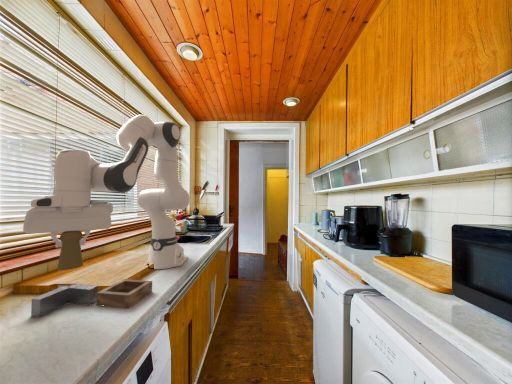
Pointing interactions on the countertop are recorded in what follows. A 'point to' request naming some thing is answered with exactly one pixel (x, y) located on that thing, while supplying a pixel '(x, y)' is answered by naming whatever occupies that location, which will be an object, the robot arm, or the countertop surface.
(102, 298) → the sleeve
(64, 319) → the countertop surface
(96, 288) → the v block
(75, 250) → the cork
